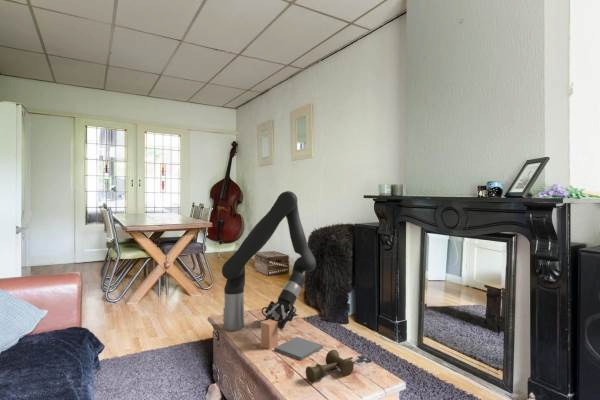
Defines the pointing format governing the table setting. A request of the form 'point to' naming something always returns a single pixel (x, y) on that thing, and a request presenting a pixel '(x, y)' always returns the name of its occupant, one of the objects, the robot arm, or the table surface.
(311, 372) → the kendama
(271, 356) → the table surface
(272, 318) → the coffee mug
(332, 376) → the table surface
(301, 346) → the slate tile
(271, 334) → the terracotta block
